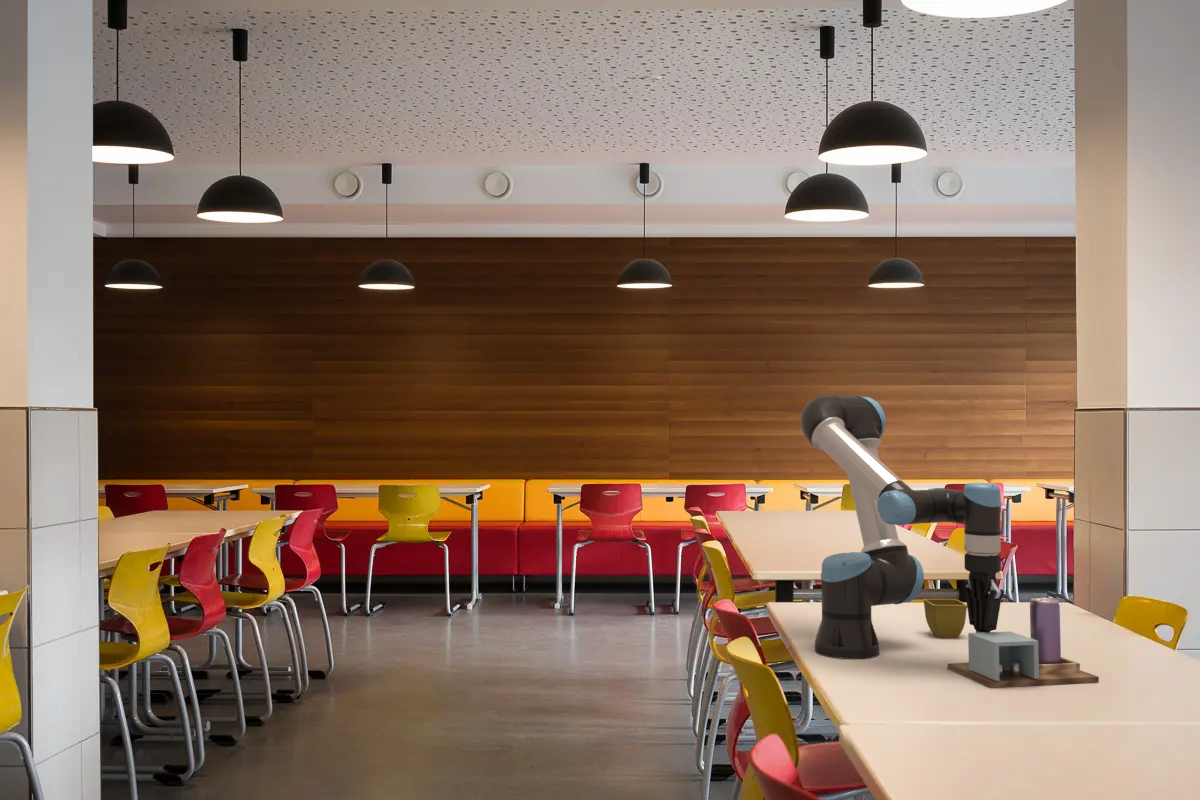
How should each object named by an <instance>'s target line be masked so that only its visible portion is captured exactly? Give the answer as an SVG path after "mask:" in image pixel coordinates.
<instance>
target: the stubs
mask: <svg viewBox="0 0 1200 800" xmlns="http://www.w3.org/2000/svg"><path fill="white" fill-rule="evenodd" d="M1010 676H1011V677H1016V678H1019V677H1021V665H1020V662H1018V661H1010ZM999 678H1003V663H1002V662H999Z"/></svg>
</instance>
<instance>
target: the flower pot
mask: <svg viewBox="0 0 1200 800" xmlns="http://www.w3.org/2000/svg"><path fill="white" fill-rule="evenodd" d="M923 607H924V613H925V614H924V615H925V619H926V620H925V621H926V622H927V626H928V628H929V630H930V632H931V633H932V634H933V635H934V636H935V637H937V638H938V639H942V638H943V639H951V638H953V639H957V638H959V636H960V635H961V634H962V632H963V630H964V628H965V623H966V617H967V611H968V609H967V603H964V602H963V601H960V600H959V599H955V598H923Z"/></svg>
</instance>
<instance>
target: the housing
mask: <svg viewBox="0 0 1200 800" xmlns="http://www.w3.org/2000/svg"><path fill="white" fill-rule="evenodd" d="M967 634H968V636H967V637H968V639H967V640H968V663H969V670H971V671H974V672H976V673H978V674H981V675H983V676H985V677H988V678H990V679H992V680H995V681H999V662H1002V663H1003V669H1010V661H1018V662H1020V665H1021V674H1024V675H1026V676H1029V677H1031V678H1034V679H1039V655H1038V641H1037V640H1034V639H1031V637H1028V636H1024V635H1023V634H1019V633H1016V632H1013V631H990V632H984V633H976V632H968V633H967Z"/></svg>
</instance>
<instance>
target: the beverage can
mask: <svg viewBox="0 0 1200 800" xmlns="http://www.w3.org/2000/svg"><path fill="white" fill-rule="evenodd" d="M1059 601H1060V600H1059V599H1056V598H1050V597H1032V598H1030V602H1029V618H1030V619H1029V626H1030V628H1029V629H1030V638H1031V639H1034V640H1037V641H1038V655H1039V664H1040V665H1041V664H1061V656H1062V654H1061V653H1062V652H1061V651H1062V650H1061V644H1062V643H1061V605H1060V603H1059Z"/></svg>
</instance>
